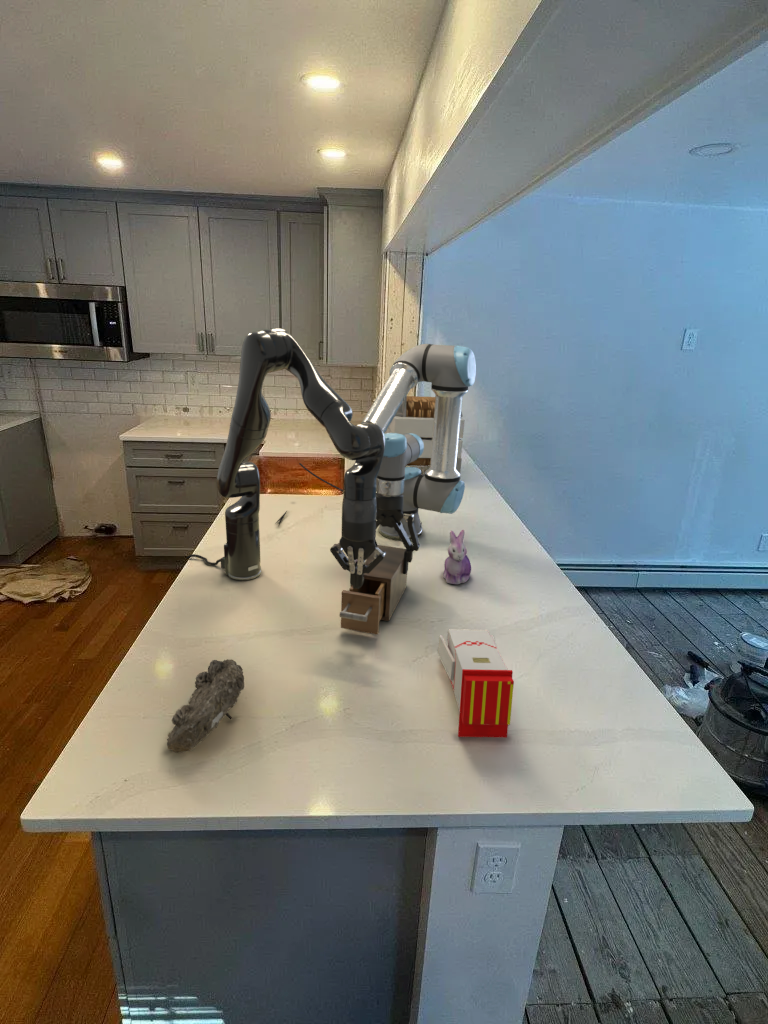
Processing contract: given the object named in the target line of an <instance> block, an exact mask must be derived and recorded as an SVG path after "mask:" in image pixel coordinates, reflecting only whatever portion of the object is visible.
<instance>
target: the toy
mask: <svg viewBox="0 0 768 1024" xmlns="http://www.w3.org/2000/svg"><path fill="white" fill-rule="evenodd" d="M446 640H447V643H446V641H445V639H444V636H443V635H442V634H439V637H438V646H437V656H438V657H439V659H440V661H441V663H442V666H443V668H444V670H445V672H446V674H447V677H448V679H449V681H450V684H451V687H452V690H453V693H454V697H455V701H456V705H457V708H458V711H459V714H458V715H459V716H458V730H457V731H458V732H457V737H458V738H508V731H509V726H510V725H511V717H512V707H513V697H514V696H513V695H514V684H515V680H514V679H513V673H514V671H513V670H512V669H508V667H507V665H506V662H505V661H504V659H503V658H502V655H501V653H500V651H499V649H498V647H497V643H496V639H495V637H494V635H493V634H491V632H490V631H489V629H467V628H466V629H465V628H463V629H461V628H460V629H459V628H448V630H447V639H446Z"/></svg>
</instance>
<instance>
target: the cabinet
mask: <svg viewBox="0 0 768 1024" xmlns="http://www.w3.org/2000/svg"><path fill="white" fill-rule="evenodd" d="M377 547H378V548H379V549H380V550H381V551H385V552H386V555H385V557H384V558H383V560H382V561H381V562H380V563H379V564H378V565H377V566H376V567H375V568H374V569H373V570H372V571H371V572H370V573H368V574H367V573H364V579H368V580H374V581H381V582H387V589H386V608H385V612H384V614H383V616H382V618H381V620H380V621H384V622H385V621H386V622H390V620H391V619H392V616H393V614H394V612H395V610H396V608H397V606H398V604H399V603H400V601H401V599H402V597H403V594H404V593H405V591H406V589H407V583H408V572H407V573H406V574H403V567H404V552H405V550H406V548H403V547H402V548H401V547H396V546H395V547H394V546H388V545H382V544H377ZM374 554H375V553H374V552H373V553H372V554H371V555H370V556H369V557H368V558H367V561H366V565H369V564H370V563H371V562H372V561H373V560H374V559H375V558H374ZM349 584H350V583H349ZM349 586H350V587H351V586H352V585H351V584H350V585H349ZM350 587H349V588H350Z"/></svg>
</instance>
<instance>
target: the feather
mask: <svg viewBox="0 0 768 1024" xmlns="http://www.w3.org/2000/svg"><path fill="white" fill-rule="evenodd" d="M287 512H288V510H286V511H285V512H284V513H283V514H282V515H281V517H280V518H278V520H277V521H276V522H275V523H274V524H276V523H277V524H278V526H277V527H278V528H279V527H280V525H281V524H282V522H283V519H284V518H285V516H286V514H287Z"/></svg>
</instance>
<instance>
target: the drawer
mask: <svg viewBox="0 0 768 1024" xmlns="http://www.w3.org/2000/svg"><path fill="white" fill-rule="evenodd" d="M348 589H349V590H344V589H342V590H341V601H340V602H341V603H340V604H341V605H340V606H341V607H340V611H339V618H340V628H341V629H345V630H350V631H355V632H360V633H366V634H373V635H379V633H380V621H382V620H381V618H382V616H383V614H384V612H385V608H386V589H387V582H381V581H374V580H368V579H364V583H363V585H362V586H361V587H360V588H359V589H356V588H353V587H352V586H351V587H349V588H348Z"/></svg>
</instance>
